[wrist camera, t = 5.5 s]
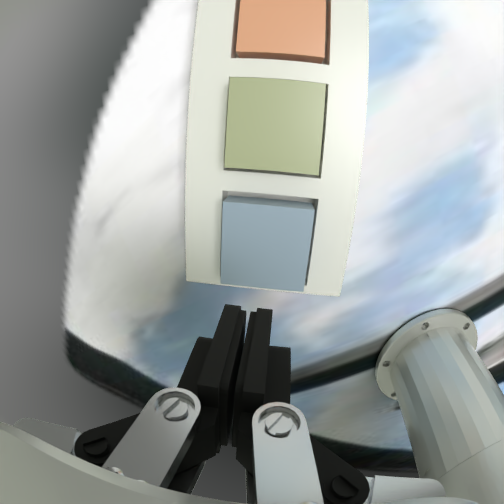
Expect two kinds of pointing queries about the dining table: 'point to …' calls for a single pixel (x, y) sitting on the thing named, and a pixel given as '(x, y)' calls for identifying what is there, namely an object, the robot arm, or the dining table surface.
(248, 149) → the olive key
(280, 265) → the slate blue key
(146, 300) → the dining table surface
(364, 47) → the keypad
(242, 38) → the terracotta key
